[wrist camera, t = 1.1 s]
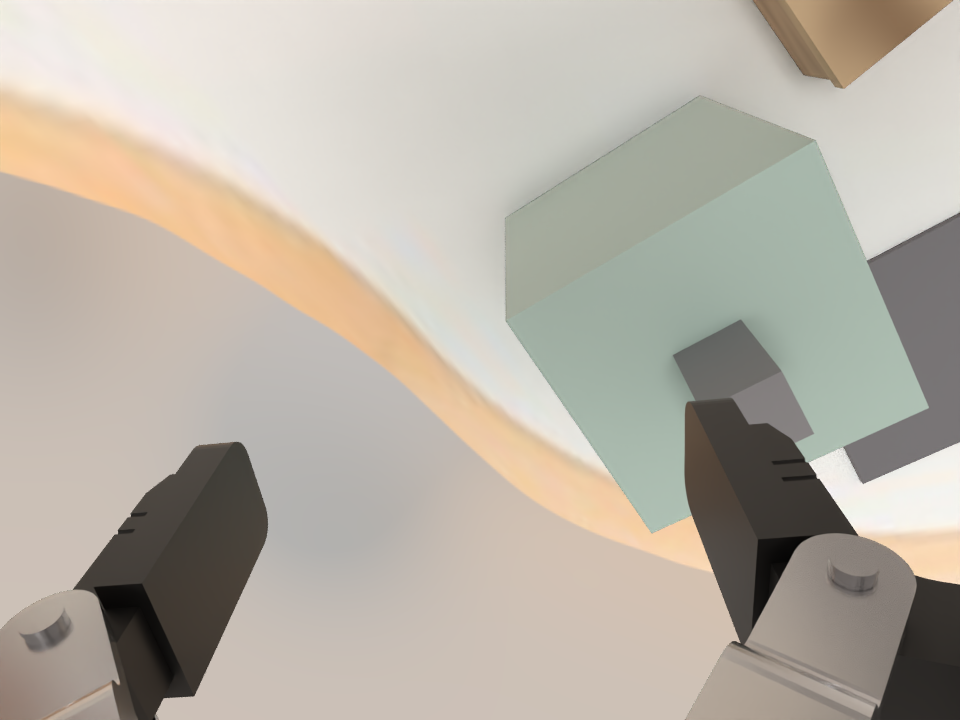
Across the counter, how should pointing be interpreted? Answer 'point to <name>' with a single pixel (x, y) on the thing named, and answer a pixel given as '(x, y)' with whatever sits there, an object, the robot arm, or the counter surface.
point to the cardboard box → (844, 32)
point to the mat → (920, 347)
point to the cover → (703, 299)
